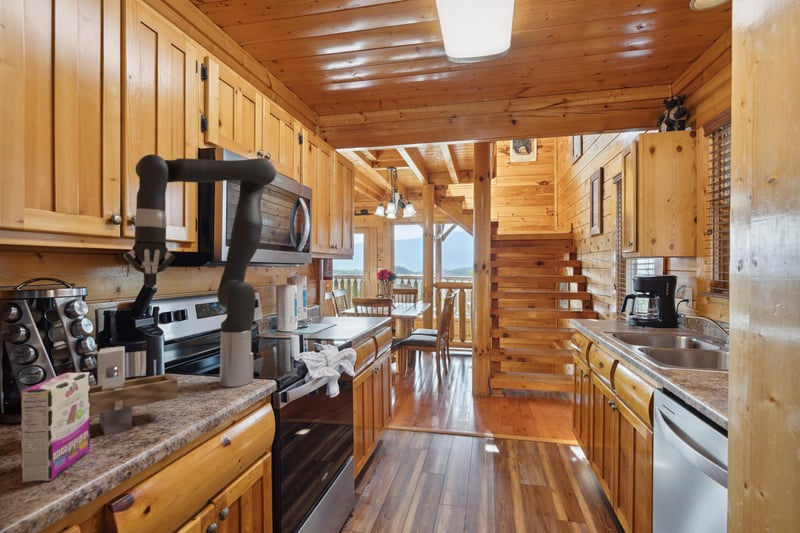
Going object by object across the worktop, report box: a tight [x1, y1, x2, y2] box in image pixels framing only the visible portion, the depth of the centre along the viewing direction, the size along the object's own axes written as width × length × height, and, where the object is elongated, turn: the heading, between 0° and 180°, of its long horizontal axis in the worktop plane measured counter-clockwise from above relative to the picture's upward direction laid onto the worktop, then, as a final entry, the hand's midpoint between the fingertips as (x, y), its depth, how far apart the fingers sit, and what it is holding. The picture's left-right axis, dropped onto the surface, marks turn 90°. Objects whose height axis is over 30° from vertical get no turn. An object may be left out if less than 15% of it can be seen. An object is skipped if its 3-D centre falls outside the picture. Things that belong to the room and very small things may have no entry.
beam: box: [89, 373, 178, 436], centre depth 91 cm, size 24×9×10 cm, turn 135°
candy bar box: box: [20, 371, 91, 484], centre depth 73 cm, size 11×5×16 cm, turn 9°
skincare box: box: [97, 346, 126, 385], centre depth 107 cm, size 8×6×15 cm
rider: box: [100, 366, 124, 392], centre depth 90 cm, size 4×4×7 cm
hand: (149, 286), depth 110 cm, fingers closed
